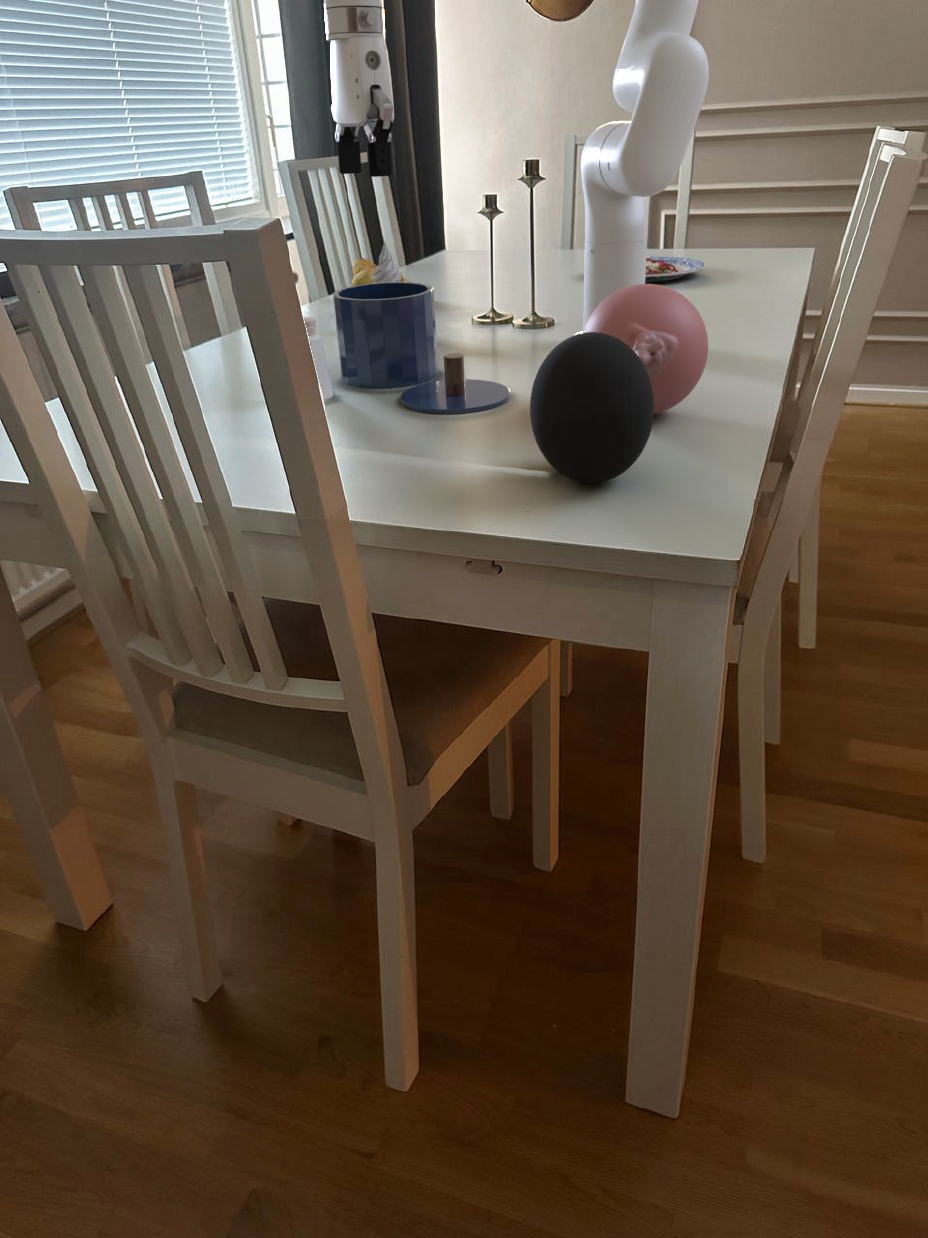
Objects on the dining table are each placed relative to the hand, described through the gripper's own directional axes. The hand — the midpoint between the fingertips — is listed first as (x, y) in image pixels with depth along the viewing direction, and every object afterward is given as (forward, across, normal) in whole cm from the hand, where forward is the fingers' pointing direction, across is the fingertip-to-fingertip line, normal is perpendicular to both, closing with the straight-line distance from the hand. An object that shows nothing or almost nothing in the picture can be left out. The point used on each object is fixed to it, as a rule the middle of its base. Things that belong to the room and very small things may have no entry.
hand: (365, 174), depth 127 cm
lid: (+26, -21, -2) cm, 34 cm away
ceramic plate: (+26, +39, -83) cm, 95 cm away
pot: (+27, -5, 0) cm, 27 cm away
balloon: (+27, -42, -16) cm, 52 cm away
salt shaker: (+28, -8, +13) cm, 32 cm away
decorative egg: (+27, -55, +2) cm, 61 cm away
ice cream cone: (+27, +26, -15) cm, 40 cm away
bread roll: (+27, +54, -26) cm, 65 cm away
